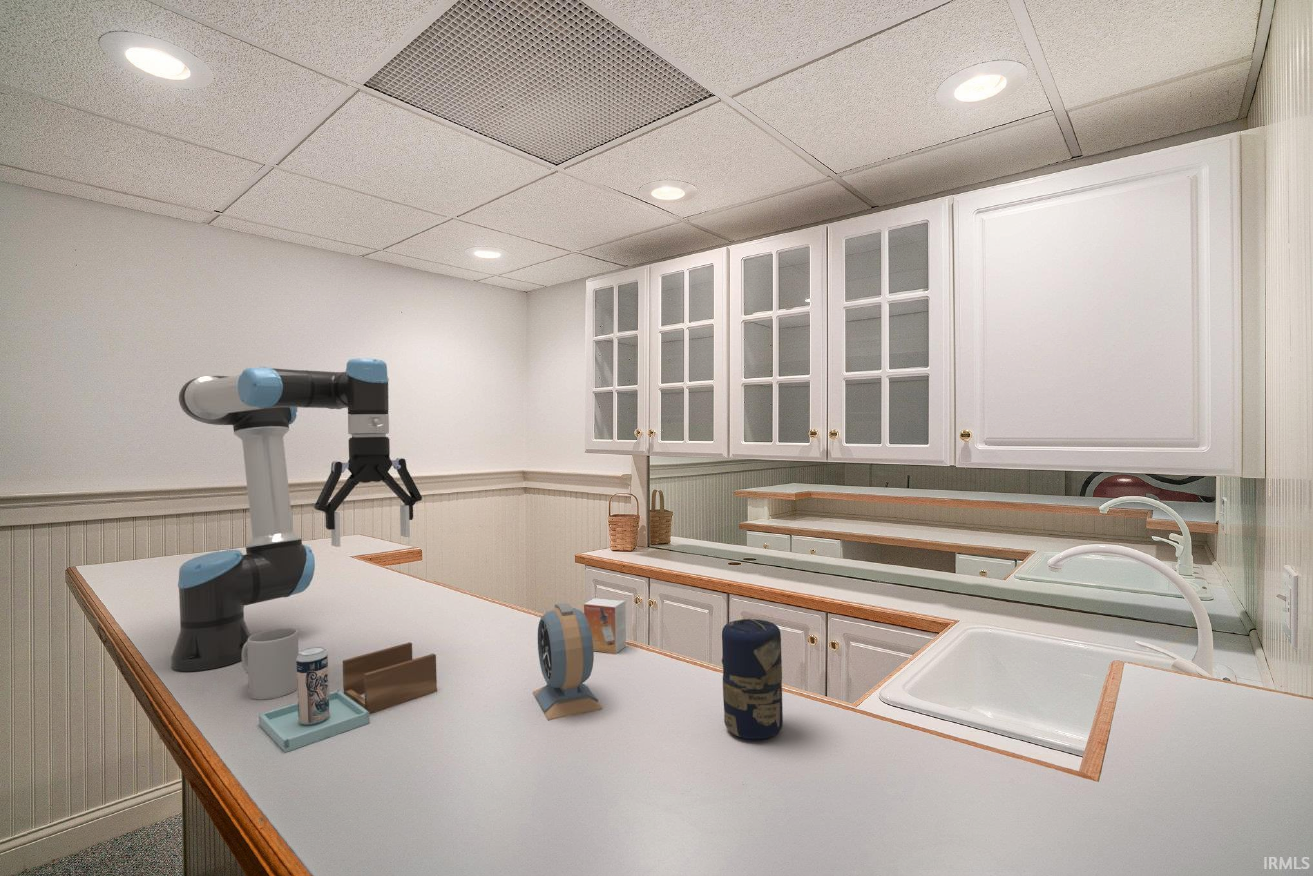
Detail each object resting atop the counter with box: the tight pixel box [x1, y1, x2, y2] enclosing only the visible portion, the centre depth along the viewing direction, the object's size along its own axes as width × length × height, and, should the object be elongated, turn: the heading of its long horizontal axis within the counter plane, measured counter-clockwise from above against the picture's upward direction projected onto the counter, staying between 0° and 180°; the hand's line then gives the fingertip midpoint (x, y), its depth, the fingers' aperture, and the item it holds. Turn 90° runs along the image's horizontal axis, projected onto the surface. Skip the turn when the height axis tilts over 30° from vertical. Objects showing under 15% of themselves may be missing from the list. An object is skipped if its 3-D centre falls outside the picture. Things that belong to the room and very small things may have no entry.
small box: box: [583, 597, 627, 655], centre depth 141 cm, size 8×6×10 cm
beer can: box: [296, 646, 330, 725], centre depth 107 cm, size 5×5×12 cm
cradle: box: [342, 642, 438, 714], centre depth 119 cm, size 11×13×7 cm
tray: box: [258, 690, 371, 753], centre depth 107 cm, size 14×13×2 cm
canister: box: [721, 618, 784, 740], centre depth 101 cm, size 10×10×18 cm
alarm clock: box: [532, 602, 603, 721], centre depth 114 cm, size 14×10×18 cm
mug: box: [241, 627, 300, 701], centre depth 122 cm, size 12×8×11 cm
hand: (371, 541), depth 127 cm, fingers open, 13 cm apart
